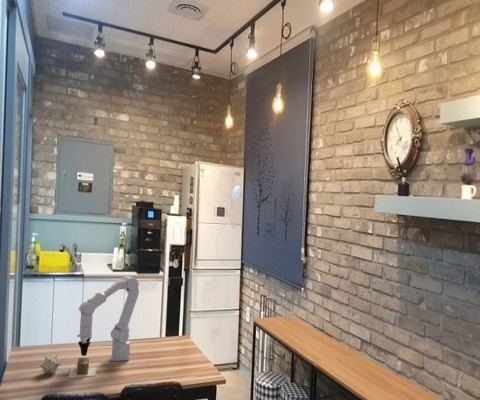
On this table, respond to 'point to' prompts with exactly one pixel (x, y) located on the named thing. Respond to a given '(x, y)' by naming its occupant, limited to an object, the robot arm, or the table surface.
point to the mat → (74, 375)
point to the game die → (50, 365)
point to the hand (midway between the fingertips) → (84, 352)
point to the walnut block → (83, 366)
